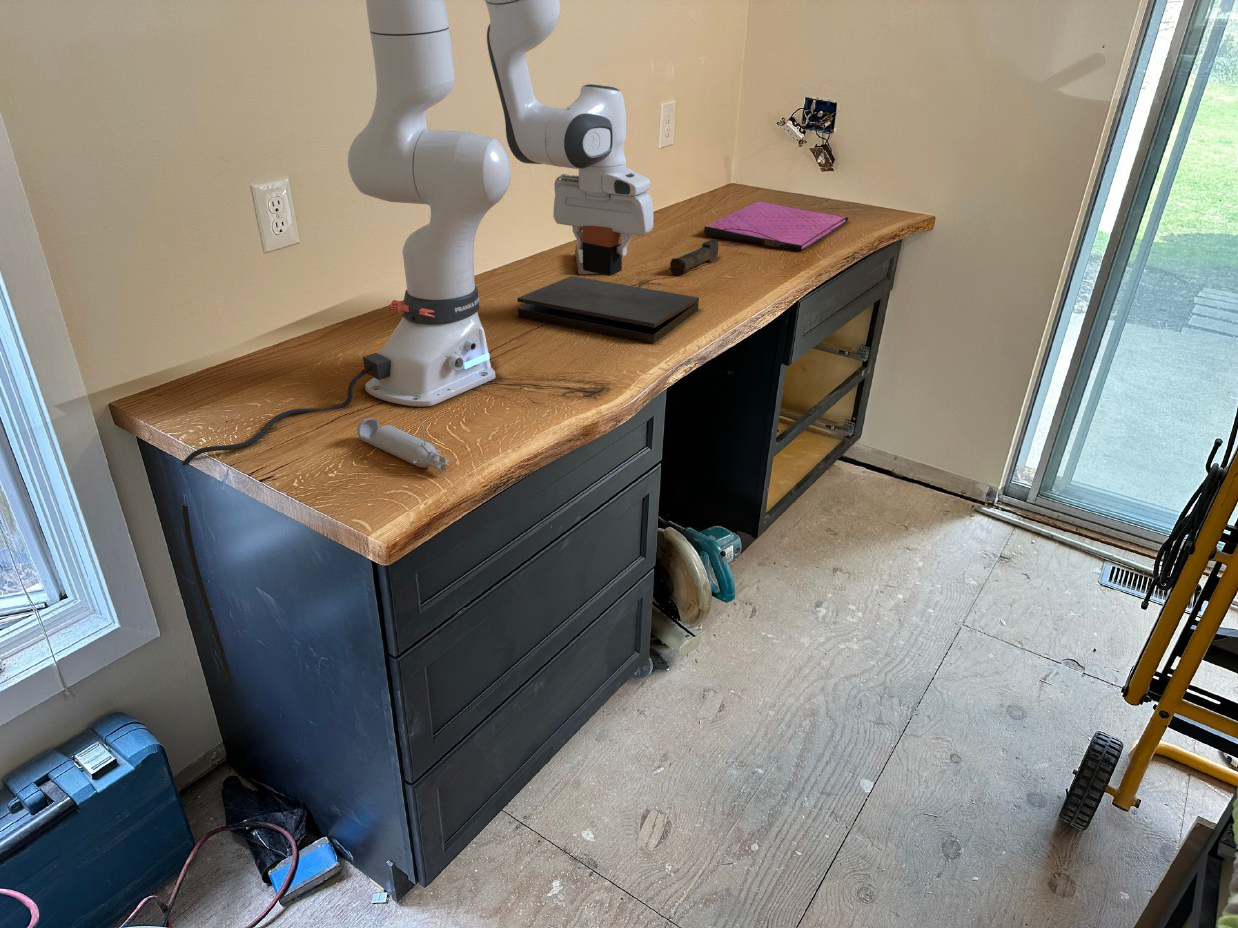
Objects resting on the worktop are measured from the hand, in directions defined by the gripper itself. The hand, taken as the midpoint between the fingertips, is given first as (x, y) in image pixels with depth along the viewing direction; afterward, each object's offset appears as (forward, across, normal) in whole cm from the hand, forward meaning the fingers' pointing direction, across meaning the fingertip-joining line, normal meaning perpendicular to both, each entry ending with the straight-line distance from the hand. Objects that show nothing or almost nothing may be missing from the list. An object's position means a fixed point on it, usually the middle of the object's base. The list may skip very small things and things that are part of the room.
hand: (602, 252), depth 168 cm
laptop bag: (+13, +9, +79) cm, 81 cm away
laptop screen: (+10, +1, +1) cm, 10 cm away
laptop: (+13, +1, +1) cm, 13 cm away
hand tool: (+13, +3, +40) cm, 42 cm away
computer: (+13, -18, +29) cm, 36 cm away
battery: (+4, 0, 0) cm, 4 cm away
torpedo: (+13, +4, -65) cm, 66 cm away
